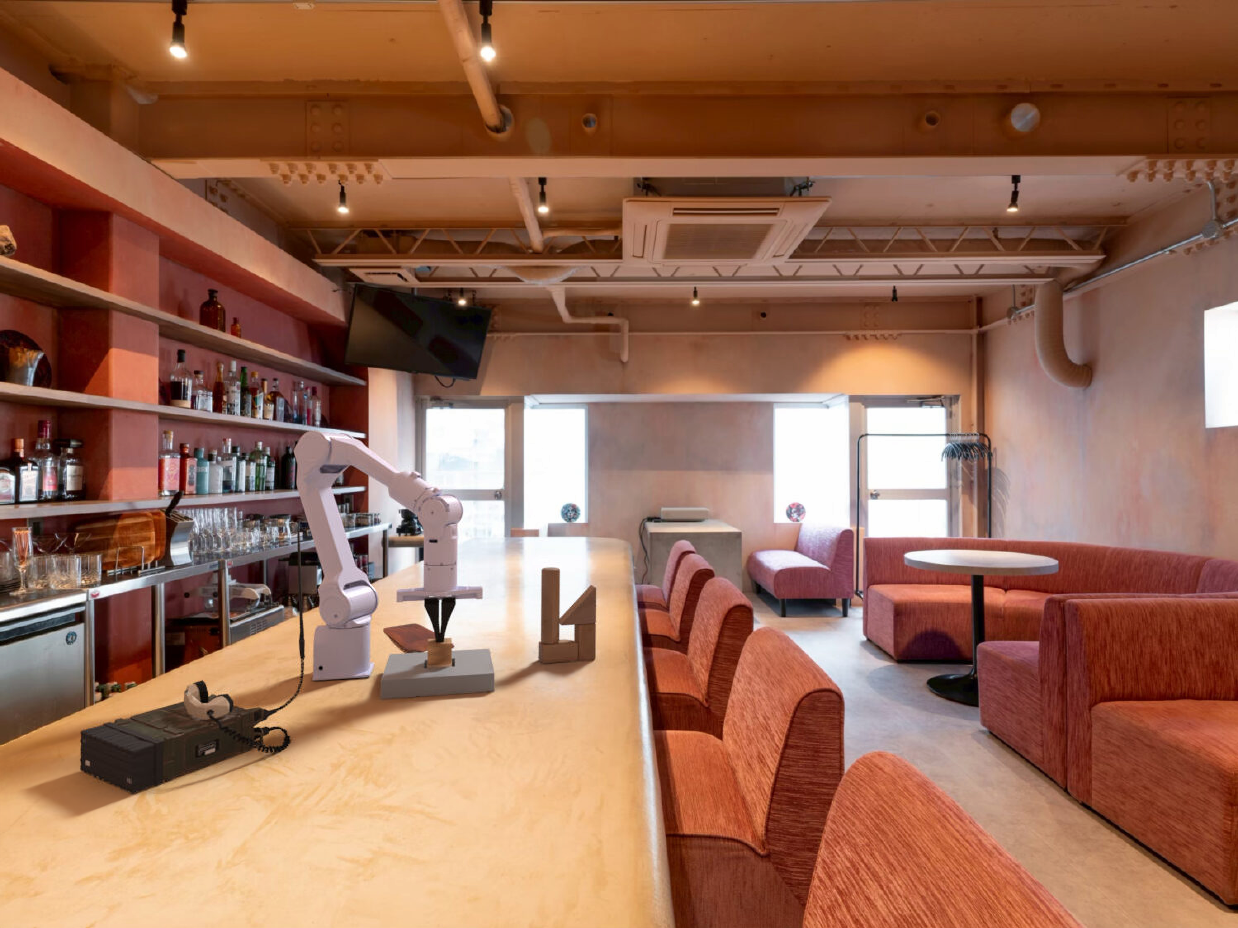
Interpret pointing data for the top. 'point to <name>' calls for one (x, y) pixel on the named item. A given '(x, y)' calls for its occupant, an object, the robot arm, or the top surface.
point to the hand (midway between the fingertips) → (439, 641)
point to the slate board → (437, 675)
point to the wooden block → (566, 622)
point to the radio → (179, 734)
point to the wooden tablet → (411, 637)
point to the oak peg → (439, 653)
